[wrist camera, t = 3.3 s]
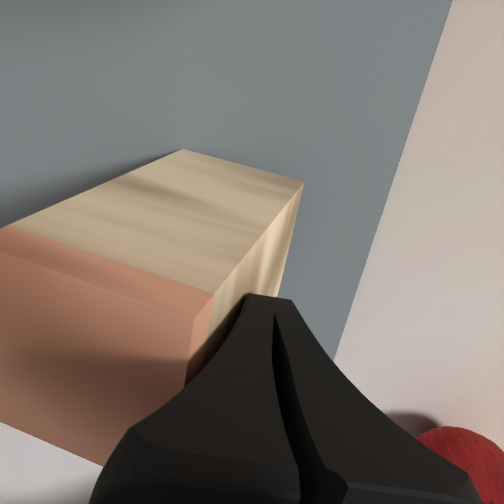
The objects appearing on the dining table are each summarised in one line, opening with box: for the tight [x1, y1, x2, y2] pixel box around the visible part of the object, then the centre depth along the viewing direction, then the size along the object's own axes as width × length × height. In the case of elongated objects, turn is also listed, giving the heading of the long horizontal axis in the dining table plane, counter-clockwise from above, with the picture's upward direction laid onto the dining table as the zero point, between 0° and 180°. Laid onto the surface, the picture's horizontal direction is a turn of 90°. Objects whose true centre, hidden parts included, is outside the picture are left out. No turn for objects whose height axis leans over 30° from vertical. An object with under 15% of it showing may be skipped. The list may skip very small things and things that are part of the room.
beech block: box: [0, 149, 305, 467], centre depth 14 cm, size 5×5×10 cm
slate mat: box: [0, 0, 453, 361], centre depth 19 cm, size 20×20×1 cm
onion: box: [416, 426, 504, 504], centre depth 22 cm, size 6×6×8 cm
